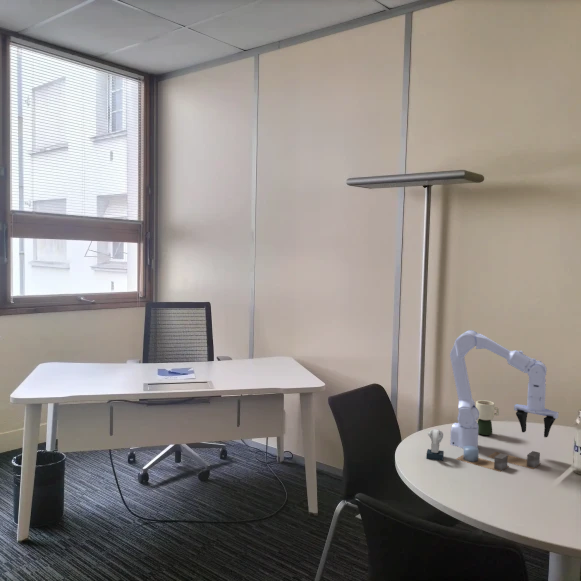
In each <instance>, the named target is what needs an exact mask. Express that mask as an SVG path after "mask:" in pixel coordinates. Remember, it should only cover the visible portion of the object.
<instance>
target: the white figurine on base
mask: <svg viewBox="0 0 581 581" xmlns="http://www.w3.org/2000/svg"><path fill="white" fill-rule="evenodd" d="M427 436H428V437H429V438H430V440H431V445H430V447H431V448H430V449H429V448H427V449H426V457H425V458H426V460H434V461H435V460H436V461H441V462H443V460H444V457H445V456H444V453H445V452H444V450H440V444H441V442H442V441H443V438H444V433H443V431H442V430H440V429H437V428H432V429H430V430H429V432H428V433H427Z"/></svg>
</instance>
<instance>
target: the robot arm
mask: <svg viewBox="0 0 581 581" xmlns="http://www.w3.org/2000/svg"><path fill="white" fill-rule="evenodd" d="M474 348H475V349H476V350H481V349H485V350H487V351H489V352H491V353H493V354H496V355H498V357H499V356H500V357H502V358H503V359H505V360H506V362H507V364H508V365H510V366H512V367H514V368H515V369H517V370H518V371H520V372H522V373H523V374H527V376H528V383H527V400H526V403H527V404H526V405H525V404H518V403H517V404H514V405H513V411H516V412H515V416H516V418H517V419H518V422H519V424H520V429H521V433H526V432H527V419H528V413H529V414H534V415H537V416H538V415H539V416H542V417H543V416H544V417H543V426H544V429H543V430H544V431H543V437H544V438H548V437H549V434H550V430H551V428H552V426H553V424H554V422H555V421H556V419H558V418H559V411H555V410H552V409H549V408H546V390H547V388H546V387H547V386H546V385H547V384H546V380H547V379H546V376H547V371H548V370H547V366H546V364H545V363H543V362H542V360H537V358H535V357H533V358H532V357H530V356H529V355H526V354H524V351H523V350H521V349H520V350H516V349H515V350H509V348H506V347H505V346H503V345H501V344H500V343H497V342H496V341H494V340H493V339H491V338H490V337H488V336H486V335H484V334H482V333H480V332H477V331H475V330H474V329H473V330H472V329H469V330H467V331H464V332H463V333H462V334H461V333H460V335H459V336H458V337H457V338H456V339H455V340H454V344H453V347H452V348H451V350H450V353H449V357H450V362H451V368H452V374H453V379H454V384H455V388H456V395H457V399H458V404H457V407H458V409H457V410H458V413H457V422H453V423H452V425H451V429H450V442H449V444H450V445H451V446H455V447H459V448H460V449H463V450H464V447H465V446H474V447H477V448H478V449H479V447H478V446H479V433H478V424H477V423H478V419H479V411H478V409H477V408H476V401H475V400H474V399H473V395H472V390H471V384H470V380H469V379H470V378H469V375H468V369H467V364H466V359H465V357H466V355H467V354H468V353H469V352H470V351H471V350H472V349H474Z"/></svg>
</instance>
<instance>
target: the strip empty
mask: <svg viewBox="0 0 581 581" xmlns="http://www.w3.org/2000/svg"><path fill="white" fill-rule="evenodd" d="M500 453H501V452H498V451H494V452H493V453H491V454H489V455H488V456H487V458H490V459H494V458H495V457H496V456H497V455H499V454H500ZM504 454H505V455H508V462H507V464H508V463H509V464H512V465H516V466H520V467H523V468H528V469H529V470H530V469H531V470H534V469H536V468H537V467H538V466H540V465H541V464H542V463H540V462H541V458H540V457H541V452H538V451H534V450H532V451H531V452H529V453H527V455H526V459H525V458H522V457H517V456H514V455H509V454H507V453H504Z"/></svg>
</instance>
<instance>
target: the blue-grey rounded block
mask: <svg viewBox="0 0 581 581" xmlns="http://www.w3.org/2000/svg"><path fill="white" fill-rule="evenodd" d="M479 450H480V449H479V447H478V448H477V447H474V446H465V447H464V449H463V454H462V455H463V459H464V460H465V461H468V462H477V461H478V458H480V457H479V452H480V451H479Z"/></svg>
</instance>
